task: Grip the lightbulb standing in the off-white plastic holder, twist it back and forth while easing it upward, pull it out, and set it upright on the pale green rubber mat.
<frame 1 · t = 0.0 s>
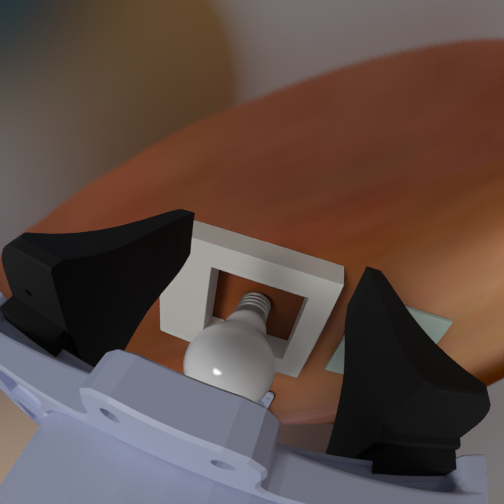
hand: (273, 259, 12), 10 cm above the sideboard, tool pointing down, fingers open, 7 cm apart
bulb holder: (257, 299, 26), on the sideboard
lightbulb: (258, 298, 27), resting in bulb holder
mat: (386, 346, 25), on the sideboard
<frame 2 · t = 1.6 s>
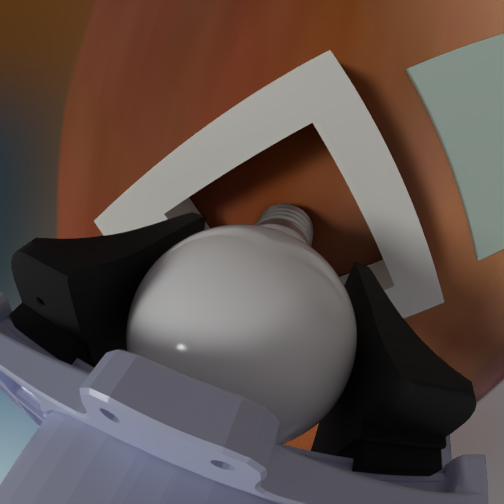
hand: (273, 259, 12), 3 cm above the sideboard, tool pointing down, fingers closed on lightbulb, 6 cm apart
bulb holder: (287, 224, 15), on the sideboard
lightbulb: (288, 222, 15), resting in bulb holder, touching gripper
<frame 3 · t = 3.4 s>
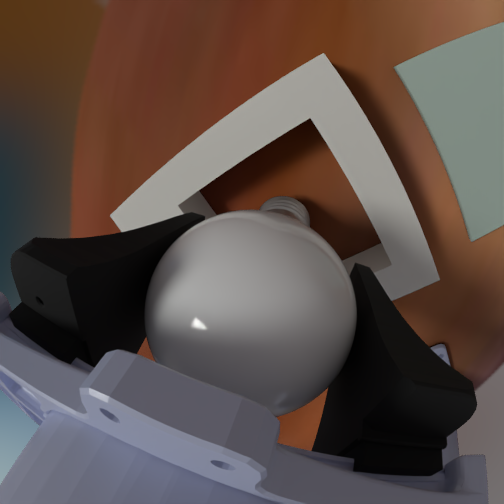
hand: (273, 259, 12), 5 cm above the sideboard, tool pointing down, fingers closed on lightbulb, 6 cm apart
bulb holder: (291, 213, 16), on the sideboard
lightbulb: (285, 214, 16), resting in bulb holder, touching gripper
mat: (503, 126, 10), on the sideboard
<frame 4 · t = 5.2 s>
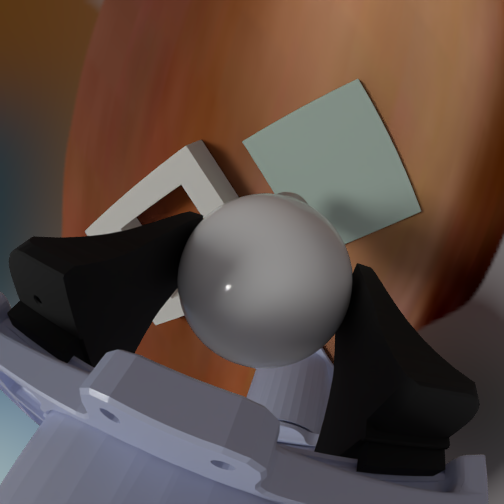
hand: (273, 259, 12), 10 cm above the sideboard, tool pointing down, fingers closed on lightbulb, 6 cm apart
bulb holder: (188, 234, 25), on the sideboard
lightbulb: (289, 209, 18), point 4 cm above the sideboard, touching gripper
mat: (335, 172, 20), on the sideboard
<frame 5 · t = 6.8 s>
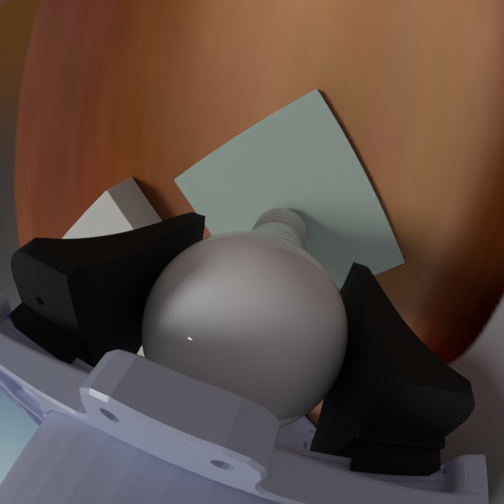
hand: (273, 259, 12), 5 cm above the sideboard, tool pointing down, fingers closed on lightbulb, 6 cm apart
bulb holder: (133, 280, 22), on the sideboard
lightbulb: (282, 225, 16), resting on mat, touching gripper
mat: (291, 215, 16), on the sideboard
when the fingers open (5 cm above the sideboard, at t = 7.2 s): lightbulb stays where it is, resting on mat.
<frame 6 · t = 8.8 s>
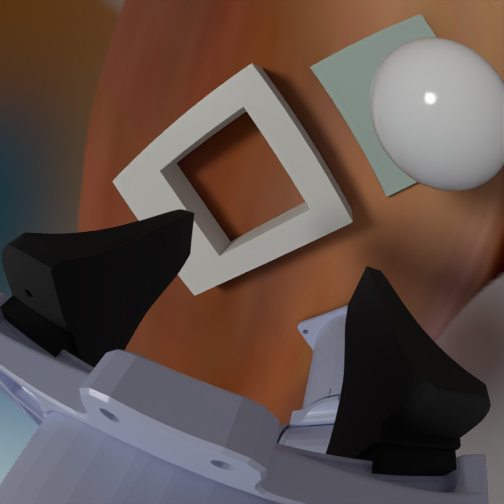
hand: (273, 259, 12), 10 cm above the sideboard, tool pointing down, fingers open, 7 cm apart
bulb holder: (241, 178, 22), on the sideboard
lightbulb: (402, 109, 16), resting on mat
mat: (407, 102, 16), on the sideboard
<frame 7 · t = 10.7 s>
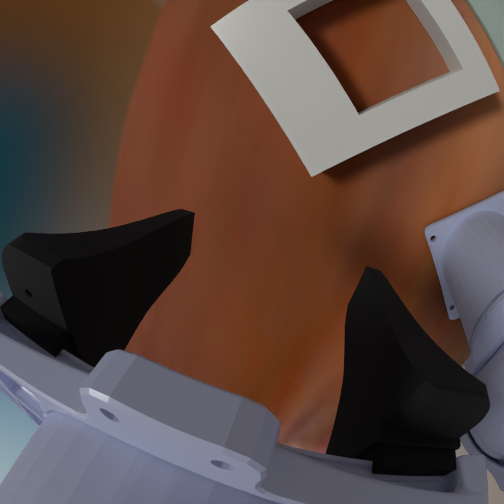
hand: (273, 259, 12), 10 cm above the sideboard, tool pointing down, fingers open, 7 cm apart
bulb holder: (375, 40, 14), on the sideboard
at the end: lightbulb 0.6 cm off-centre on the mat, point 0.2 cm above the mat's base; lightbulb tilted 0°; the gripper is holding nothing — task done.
